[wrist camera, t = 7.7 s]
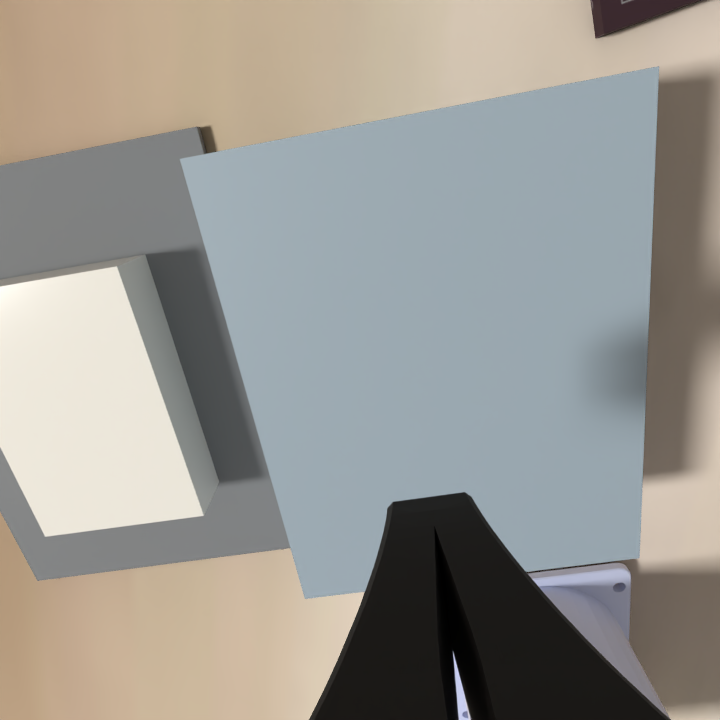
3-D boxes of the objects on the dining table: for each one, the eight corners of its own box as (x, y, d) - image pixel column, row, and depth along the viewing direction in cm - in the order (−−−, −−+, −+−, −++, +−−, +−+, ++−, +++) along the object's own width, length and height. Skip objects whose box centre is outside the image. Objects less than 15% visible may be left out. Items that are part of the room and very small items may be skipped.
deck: (588, 483, 20) (639, 558, 16) (316, 519, 21) (304, 598, 17) (585, 90, 15) (658, 66, 11) (224, 159, 16) (179, 159, 12)
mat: (309, 540, 21) (308, 545, 21) (41, 575, 22) (37, 580, 22) (199, 127, 15) (196, 126, 15) (-159, 197, 16) (-168, 198, 16)
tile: (45, 536, 18) (74, 502, 20) (203, 515, 18) (219, 482, 20) (-74, 299, 15) (-26, 283, 17) (116, 266, 15) (145, 254, 16)
